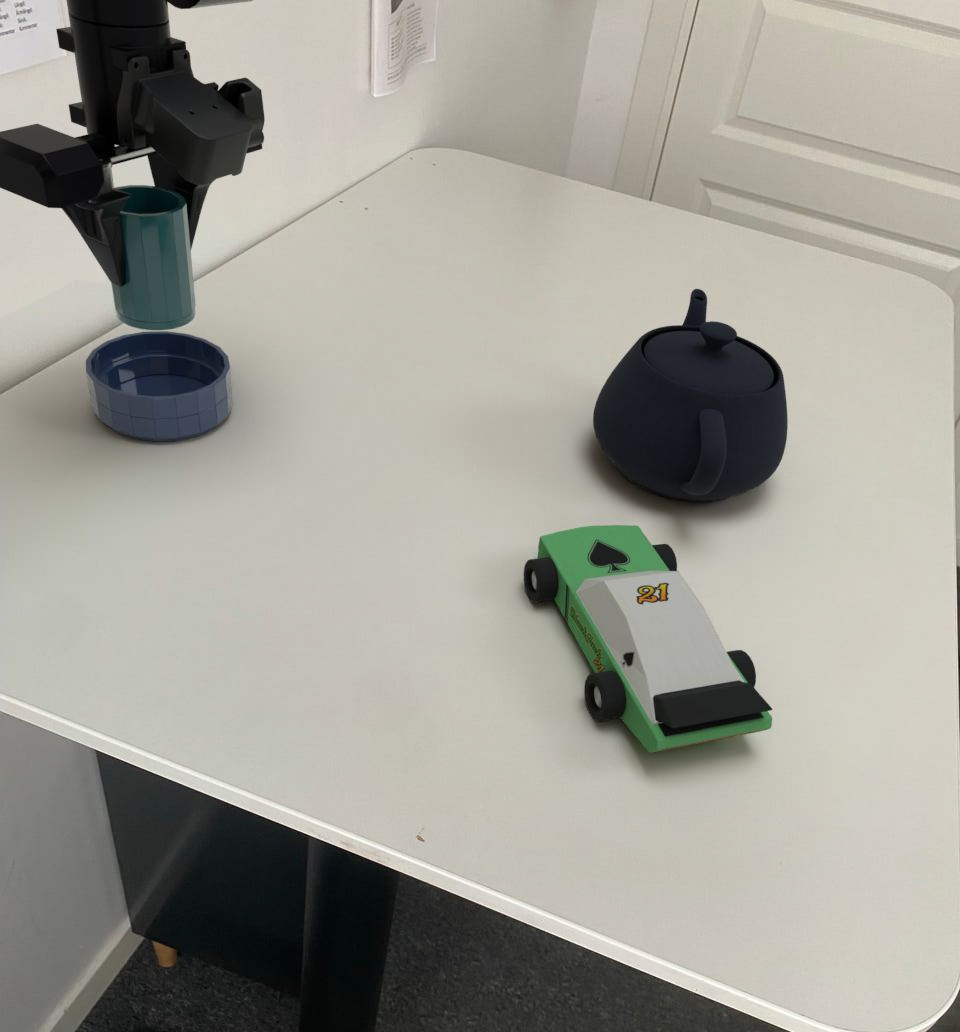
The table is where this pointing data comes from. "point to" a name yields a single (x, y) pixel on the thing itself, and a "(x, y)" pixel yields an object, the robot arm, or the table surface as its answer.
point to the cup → (155, 260)
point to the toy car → (645, 639)
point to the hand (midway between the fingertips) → (150, 272)
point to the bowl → (159, 385)
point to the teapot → (694, 411)
